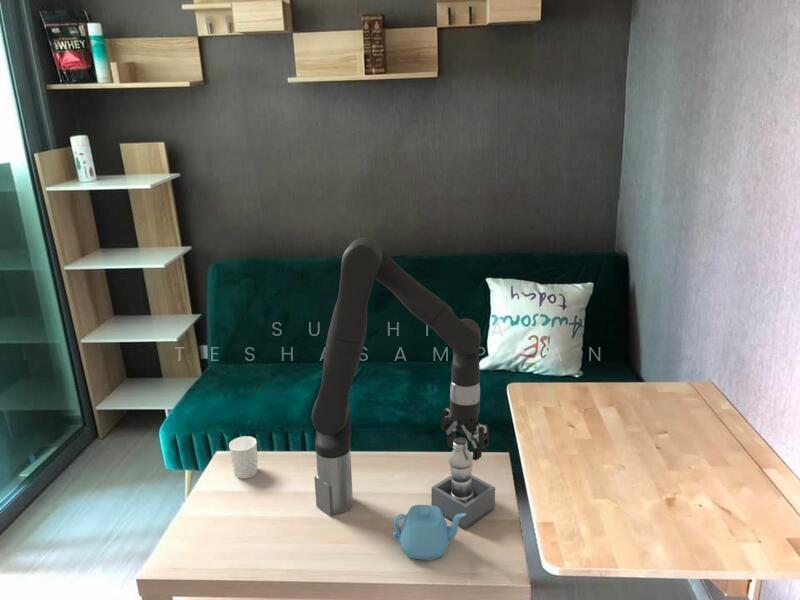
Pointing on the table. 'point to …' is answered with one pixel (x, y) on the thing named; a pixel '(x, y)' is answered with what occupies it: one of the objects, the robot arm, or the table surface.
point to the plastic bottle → (461, 471)
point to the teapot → (425, 532)
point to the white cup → (244, 456)
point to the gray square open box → (473, 509)
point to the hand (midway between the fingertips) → (464, 452)
